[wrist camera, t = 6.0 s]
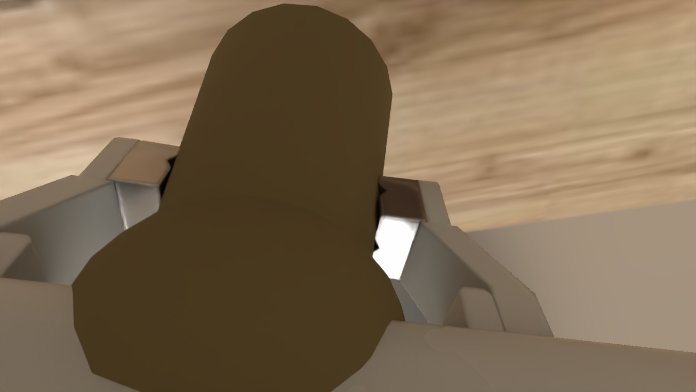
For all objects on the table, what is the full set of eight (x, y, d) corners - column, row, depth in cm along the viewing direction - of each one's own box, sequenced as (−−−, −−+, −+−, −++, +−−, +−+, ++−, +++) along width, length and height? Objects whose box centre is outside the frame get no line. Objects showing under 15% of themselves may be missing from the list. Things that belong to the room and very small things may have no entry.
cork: (417, 30, 12) (582, 412, 3) (366, 190, 16) (384, 573, 7) (209, -21, 11) (-253, 309, 3) (205, 159, 15) (3, 549, 6)
